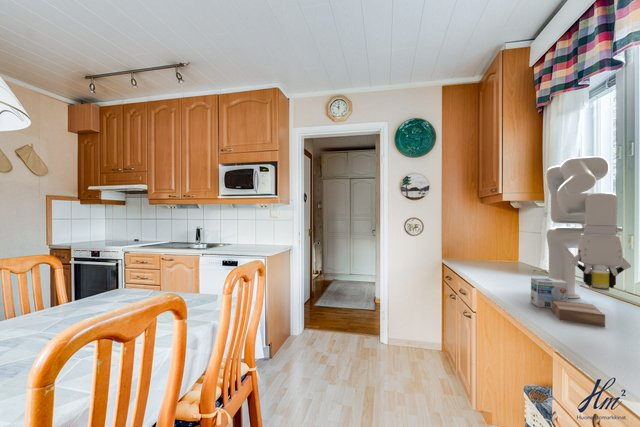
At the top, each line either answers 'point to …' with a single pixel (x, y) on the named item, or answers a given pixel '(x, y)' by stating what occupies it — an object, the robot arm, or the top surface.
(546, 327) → the top surface
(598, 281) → the supplement bottle
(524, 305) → the top surface
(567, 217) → the robot arm
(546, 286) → the light bulb box
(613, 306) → the top surface
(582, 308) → the walnut stand
